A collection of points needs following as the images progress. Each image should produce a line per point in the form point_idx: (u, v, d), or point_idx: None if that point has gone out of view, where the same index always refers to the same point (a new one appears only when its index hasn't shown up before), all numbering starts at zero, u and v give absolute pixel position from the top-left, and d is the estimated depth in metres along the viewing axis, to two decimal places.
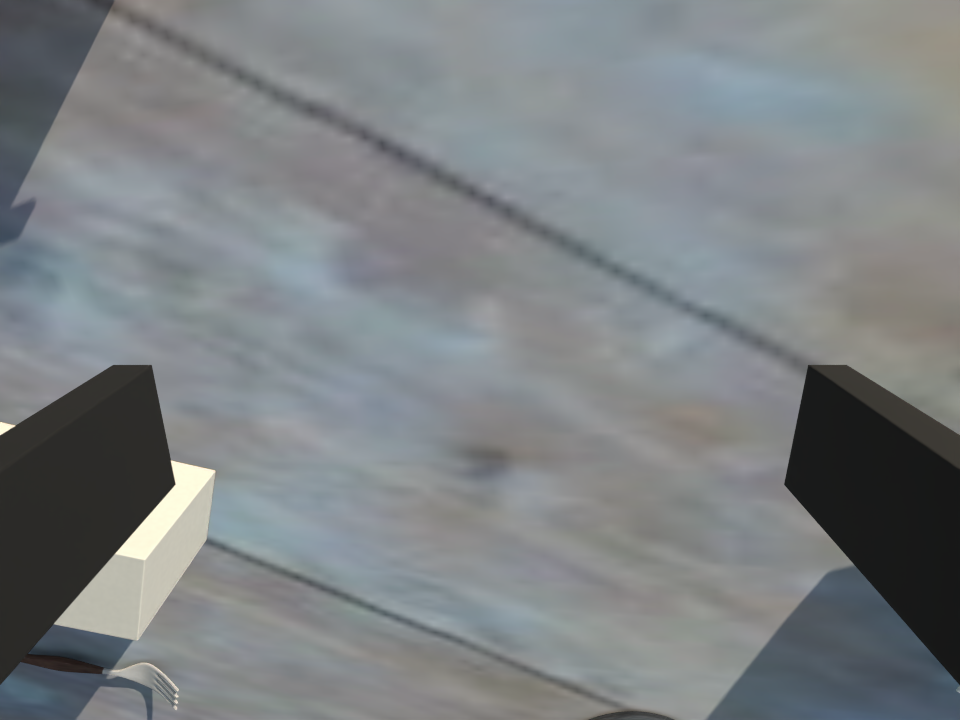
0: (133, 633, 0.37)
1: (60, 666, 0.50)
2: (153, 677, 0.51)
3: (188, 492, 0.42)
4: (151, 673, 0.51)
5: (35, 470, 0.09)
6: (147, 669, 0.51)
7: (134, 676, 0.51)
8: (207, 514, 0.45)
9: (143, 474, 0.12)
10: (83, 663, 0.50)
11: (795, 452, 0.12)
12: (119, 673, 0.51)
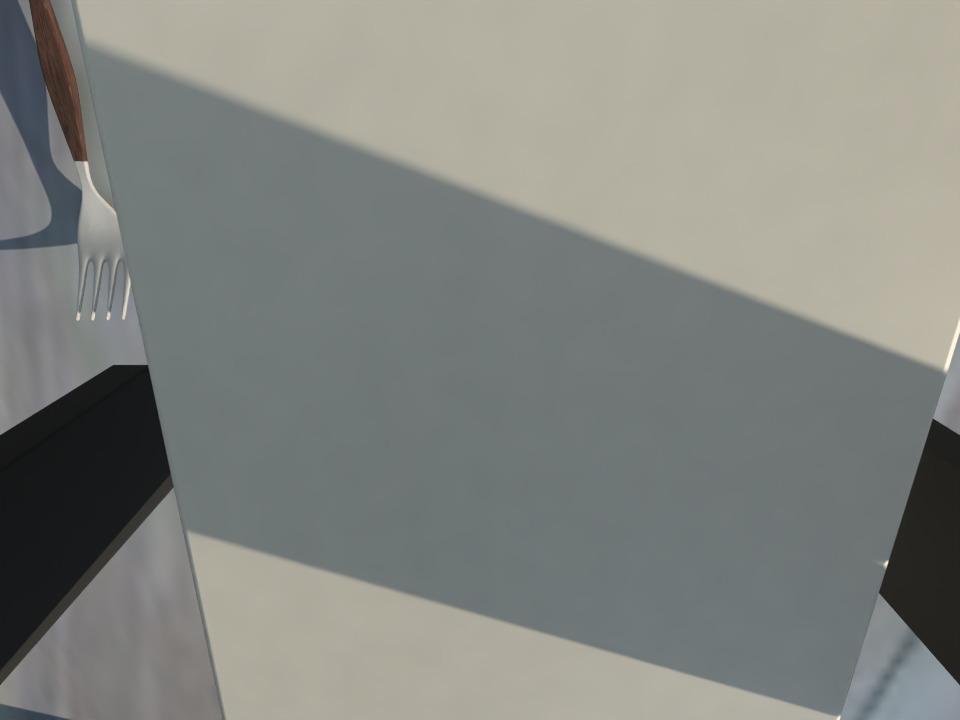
0: None
1: (55, 77, 0.25)
2: (109, 255, 0.28)
3: None
4: (115, 249, 0.28)
5: (35, 470, 0.09)
6: (120, 239, 0.28)
7: (92, 218, 0.28)
8: None
9: (143, 474, 0.12)
10: (80, 120, 0.26)
11: None
12: (89, 192, 0.27)
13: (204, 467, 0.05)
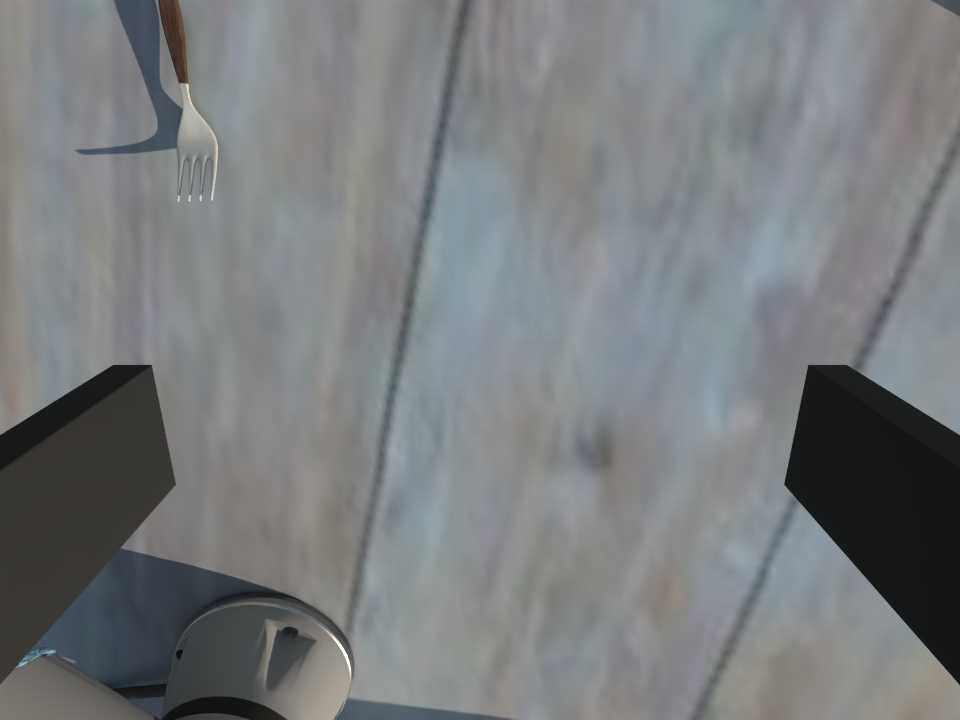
0: None
1: (169, 21, 0.35)
2: (200, 155, 0.38)
3: None
4: (205, 150, 0.38)
5: (35, 470, 0.09)
6: (208, 143, 0.38)
7: (188, 127, 0.38)
8: None
9: (143, 474, 0.12)
10: (185, 53, 0.36)
11: (795, 452, 0.12)
12: (188, 107, 0.37)
13: None
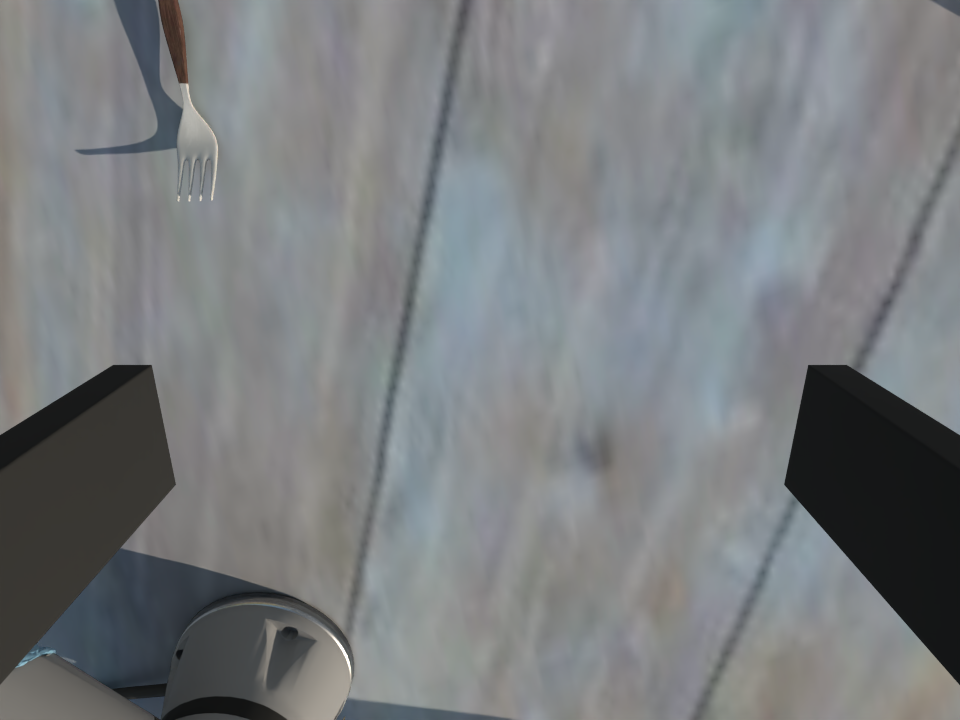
0: None
1: (169, 21, 0.35)
2: (200, 155, 0.38)
3: None
4: (205, 150, 0.38)
5: (35, 470, 0.09)
6: (208, 143, 0.38)
7: (188, 127, 0.38)
8: None
9: (143, 474, 0.12)
10: (185, 53, 0.36)
11: (795, 452, 0.12)
12: (188, 107, 0.37)
13: None
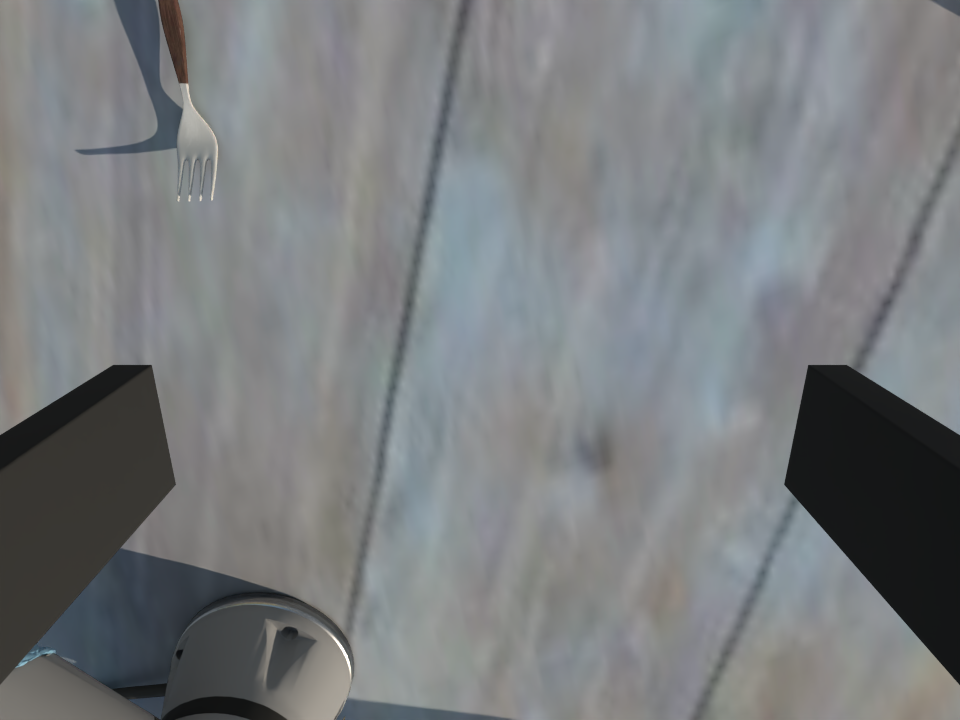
0: None
1: (169, 21, 0.35)
2: (200, 155, 0.38)
3: None
4: (205, 150, 0.38)
5: (35, 470, 0.09)
6: (208, 143, 0.38)
7: (188, 127, 0.38)
8: None
9: (143, 474, 0.12)
10: (185, 53, 0.36)
11: (795, 452, 0.12)
12: (188, 107, 0.37)
13: None
